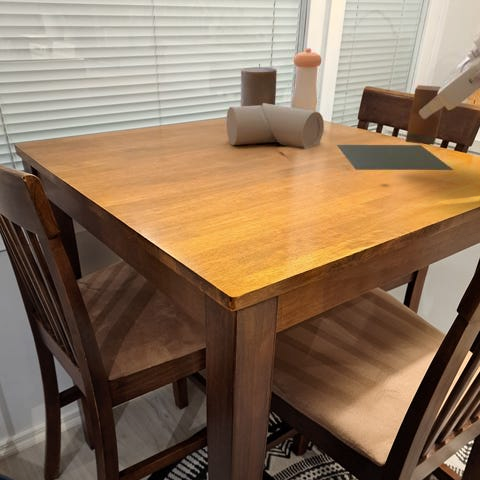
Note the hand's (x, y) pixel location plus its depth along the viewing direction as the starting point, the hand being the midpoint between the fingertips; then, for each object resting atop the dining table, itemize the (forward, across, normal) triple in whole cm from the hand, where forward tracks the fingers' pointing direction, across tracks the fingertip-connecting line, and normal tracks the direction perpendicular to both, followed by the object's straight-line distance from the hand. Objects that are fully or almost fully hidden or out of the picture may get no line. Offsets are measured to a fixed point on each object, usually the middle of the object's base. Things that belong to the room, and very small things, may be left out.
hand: (422, 112), depth 89 cm
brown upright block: (+3, 0, -4) cm, 5 cm away
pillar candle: (+42, +37, +24) cm, 60 cm away
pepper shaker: (+32, +36, +14) cm, 50 cm away
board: (+13, +13, -5) cm, 19 cm away
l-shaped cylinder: (+32, +15, +14) cm, 39 cm away
